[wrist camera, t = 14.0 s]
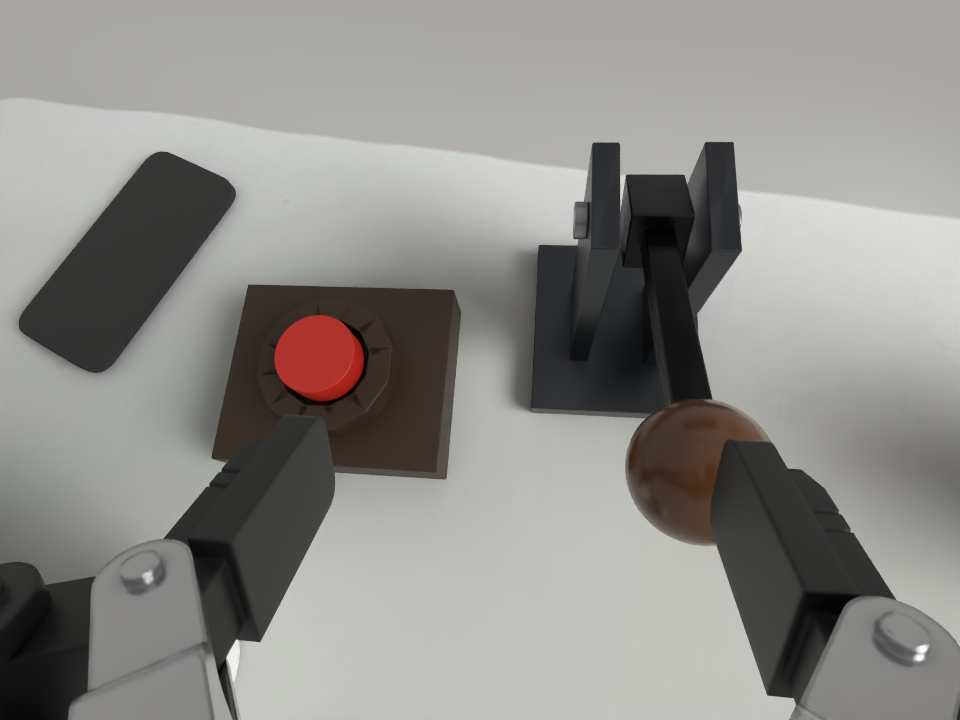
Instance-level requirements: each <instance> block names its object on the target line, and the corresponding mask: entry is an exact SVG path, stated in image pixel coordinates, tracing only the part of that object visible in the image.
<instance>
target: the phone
mask: <svg viewBox="0 0 960 720" xmlns="http://www.w3.org/2000/svg"><path fill="white" fill-rule="evenodd" d="M235 195H236V192H235V189H234V187H233V186H232V185H231V184H230V183H229V181H228V180H226V179H225V178H223V177H221V176H219V175H217V174H215V173H213V172H210V171H208V170H206V169H204V168H202V167H200V166H197V165H195V164H193V163H191V162H189V161H186V160H184V159H182V158H180V157H178V156H175V155H173V154H171V153H168V152H157V153H154V154H152V155H151V156H150V157H148V158H147V159H146V160H145V162H144V163H143V164H142V165H141V166H140V168H139V169H138V170H137V171H136V173H135V174H134V175H133V176H132V177H131V179H130V180H129V181H128V182H127V184H126V185H125V186H124V187H123V189H122V190H121V191H120V192H119V194H118V195H117V196H116V197H115V198H114V200H113V201H112V202H111V203H110V205H109V206H108V207H107V208H106V210H105V211H104V212H103V213H102V215H101V216H100V217H99V218H98V219H97V221H96V222H95V223H94V224H93V226H92V227H91V228H90V229H89V231H88V232H87V233H86V234H85V236H84V237H83V238H82V239H81V240H80V242H79V243H78V244H77V245H76V247H75V248H74V249H73V250H72V252H71V253H70V254H69V255H68V257H67V258H66V259H65V260H64V261H63V263H62V264H61V265H60V266H59V268H58V269H57V270H56V271H55V273H54V274H53V275H52V276H51V278H50V279H49V280H48V281H47V282H46V284H45V285H44V286H43V287H42V289H41V290H40V291H39V292H38V294H37V295H36V296H35V297H34V299H33V300H32V301H31V302H30V304H29V305H28V306H27V307H26V309H25V310H24V311H23V313H22V315H21V317H20V319H19V328H20V330H21V331H22V332H23V333H24V334H25V335H27V336H28V337H30V338H31V339H33V340H35V341H36V342H38V343H40V344H41V345H43V346H45V347H46V348H48V349H50V350H51V351H53V352H55V353H56V354H58V355H60V356H61V357H63V358H65V359H66V360H68V361H70V362H71V363H73V364H75V365H76V366H78V367H80V368H82V369H85V370H87V371H90V372H94V373H98V372H102V371H104V370H106V369H108V368H109V367H110V366H111V365H112V364H113V363H114V362H115V361H116V359H117V358H118V357H119V355H120V354H121V353H122V351H123V350H124V349H125V347H126V346H127V345H128V343H129V342H130V341H131V339H132V338H133V337H134V335H135V334H136V333H137V331H138V330H139V329H140V327H141V326H142V324H143V323H144V322H145V320H146V319H147V318H148V316H149V315H150V314H151V312H152V311H153V310H154V308H155V307H156V306H157V304H158V303H159V302H160V300H161V299H162V298H163V296H164V295H165V294H166V292H167V291H168V290H169V288H170V287H171V285H172V284H173V283H174V281H175V280H176V279H177V277H178V276H179V275H180V273H181V272H182V271H183V269H184V268H185V267H186V265H187V264H188V263H189V261H190V260H191V259H192V257H193V256H194V255H195V253H196V252H197V250H198V249H199V248H200V246H201V245H202V244H203V242H204V241H205V240H206V238H207V237H208V236H209V234H210V233H211V232H212V230H213V229H214V228H215V226H216V225H217V224H218V222H219V221H220V220H221V218H222V217H223V215H224V214H225V213H226V211H227V210H228V209H229V207H230V206H231V205H232V203H233V201H234V199H235Z"/></svg>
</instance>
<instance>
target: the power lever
mask: <svg viewBox="0 0 960 720" xmlns="http://www.w3.org/2000/svg"><path fill="white" fill-rule="evenodd" d="M694 220H695V212H694V208H693V205H692V201H691V197H690V194H689V190H688V186H687V183H686V179H685V176H684V175H626V179H625V185H624V192H623V199H622V206H621V212H620V246H621V255H622V264H623V268H643V273H644V280H645V287H646V294H647V301H648V307H649V314H650V321H651V328H652V335H653V342H654V349H655V356H656V362H657V369H658V376H659V383H660V390H661V397H662V404H663V407H661V408H659V409H658V410H656V411H655V412H653V413H652V414H650V415H649V416H648V417H647V418H646V419H645V420H644V421H643V422H642V423H641V424H640V426H639V427H638V428H637V430H636V431H635V433H634V435H633V437H632V438H631V441H630V444H629V446H628V449H627V454H626V461H625V473H626V480H627V485H628V489H629V492H630V494H631V496H632V499H633V501H634V503H635V505H636V506H637V508H638V509H639V511H640V512H641V513H642V514H643V516H644V517H645V518H646V519H647V520H648V521H649V522H650V523H651V524H652V525H653V526H654V527H656V528H657V529H658V530H659V531H661V532H663V533H664V534H666V535H667V536H669V537H671V538H673V539H676V540H678V541H681V542H684V543H688V544H692V545H699V546H717V545H716V542H715V539H714V536H713V533H712V528H711V520H710V507H711V500H712V495H713V490H714V486H715V481H716V477H717V472H718V468H719V463H720V459H721V454H722V450H723V446H724V444H725V442H726V441H727V440H728V439H737V440H756V441H770V439H769V438H768V436H767V435H766V433H765V432H764V430H763V429H762V428H761V427H760V426H759V425H758V424H757V423H756V422H755V421H754V420H753V419H752V418H751V417H749V416H748V415H746V414H745V413H744V412H742V411H740V410H739V409H737V408H735V407H733V406H731V405H728V404H725V403H722V402H719V401H714V400H712V395H711V391H710V386H709V382H708V377H707V373H706V368H705V364H704V359H703V355H702V350H701V346H700V341H699V337H698V332H697V328H696V323H695V319H694V315H693V310H692V306H691V301H690V297H689V292H688V288H687V283H686V279H685V274H684V270H683V262H684V258H685V254H686V250H687V247H688V243H689V239H690V235H691V231H692V227H693V223H694ZM770 442H771V441H770Z"/></svg>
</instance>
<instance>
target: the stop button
mask: <svg viewBox="0 0 960 720" xmlns="http://www.w3.org/2000/svg"><path fill="white" fill-rule="evenodd" d="M274 358H275V368H276V371H277V373H278V375H279V377H280V379H281V380H282V381H283V382H284V384H286V385H287V386H288V387H289V388H291V389H293V390H294V391H296V392H297V393H299V394H300V395H302V396H304V397H305V398H308V399H310V400H314V401H330V400H334V399H337V398H339V397H341V396H343V395H345V394H346V393H347V392H349V391H350V390H351V389H352V388H353V387H354V386H355V384H356V383H357V382H358V380H359V378H360V376H361V374H362V371H363V367H364V353H363V349H362V346H361V344H360V342H359V341H358V340H357V338H356V337H355V336H354V335H353V334H352V333H351V331H350V330H349V329H348V328H347V327H346V326H345V325H344V324H343V323H342V322H340V321H339V320H337V319H335V318H333V317H330V316H324V315H314V316H309V317H305V318H303V319H300V320H299V321H297V322H295V323H294V324H292V325H291V326H290V327H289V328H288V329H287V330H286V331H285V332H284V333H283V335H282V336H281V338H280V339H279V341H278V344H277V346H276V350H275V356H274Z"/></svg>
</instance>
